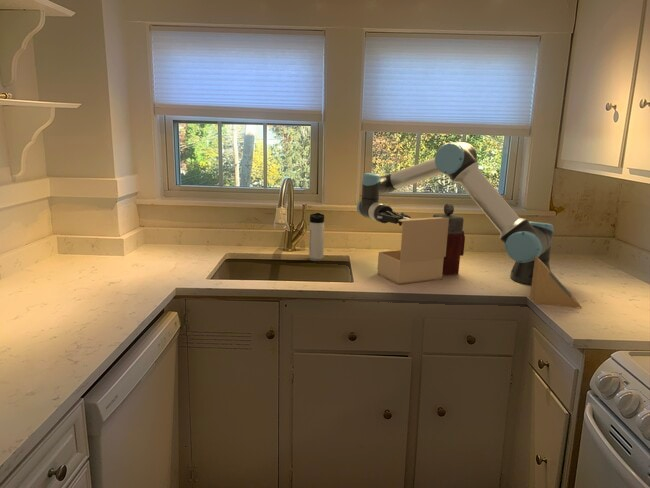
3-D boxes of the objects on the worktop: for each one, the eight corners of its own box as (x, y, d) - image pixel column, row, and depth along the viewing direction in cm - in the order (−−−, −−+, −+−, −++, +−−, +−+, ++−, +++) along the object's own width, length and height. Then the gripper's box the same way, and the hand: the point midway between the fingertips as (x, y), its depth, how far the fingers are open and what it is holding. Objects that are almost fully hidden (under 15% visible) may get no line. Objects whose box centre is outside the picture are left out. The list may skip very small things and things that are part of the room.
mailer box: (377, 274, 196) (378, 252, 194) (418, 269, 205) (420, 248, 203) (398, 284, 183) (400, 261, 181) (441, 279, 192) (443, 256, 190)
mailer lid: (397, 218, 181) (403, 220, 177) (441, 216, 189) (449, 217, 186) (394, 258, 184) (401, 261, 180) (438, 254, 193) (445, 256, 189)
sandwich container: (583, 308, 164) (590, 265, 161) (534, 304, 168) (539, 261, 164) (576, 300, 172) (582, 258, 169) (529, 296, 176) (535, 255, 172)
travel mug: (323, 257, 218) (325, 213, 214) (322, 261, 212) (323, 215, 208) (309, 257, 219) (310, 212, 214) (307, 260, 213) (308, 215, 208)
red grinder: (463, 274, 200) (470, 205, 194) (438, 275, 197) (444, 205, 190) (452, 268, 208) (458, 202, 202) (428, 269, 205) (433, 202, 199)
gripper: (393, 221, 212) (427, 232, 192) (367, 222, 207) (398, 234, 186) (394, 203, 211) (428, 213, 190) (368, 204, 205) (400, 214, 184)
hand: (414, 223), depth 188 cm, fingers closed
